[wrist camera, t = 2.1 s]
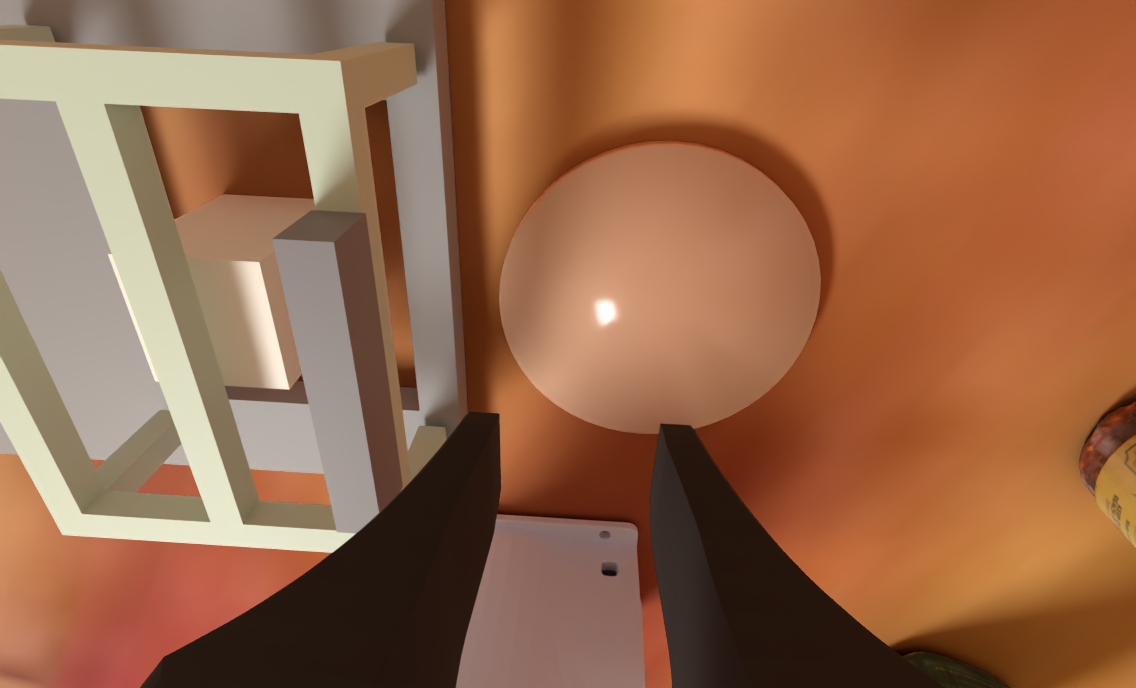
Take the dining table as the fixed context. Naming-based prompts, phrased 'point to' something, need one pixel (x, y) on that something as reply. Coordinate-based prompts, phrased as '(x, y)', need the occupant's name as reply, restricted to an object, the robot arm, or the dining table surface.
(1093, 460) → the sauce bottle
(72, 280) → the puzzle board
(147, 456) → the cream slatted rack
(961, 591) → the dining table surface
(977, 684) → the coffee jar
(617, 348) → the terracotta dish
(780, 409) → the dining table surface
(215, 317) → the cream block
